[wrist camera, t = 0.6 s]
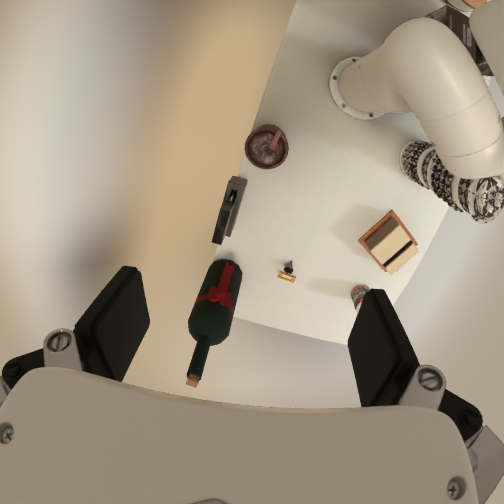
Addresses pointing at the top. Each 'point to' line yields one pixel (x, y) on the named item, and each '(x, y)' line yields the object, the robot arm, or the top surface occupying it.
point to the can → (266, 147)
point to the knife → (224, 219)
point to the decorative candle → (453, 183)
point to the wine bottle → (213, 313)
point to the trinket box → (467, 4)
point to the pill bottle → (359, 295)
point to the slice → (400, 257)
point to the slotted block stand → (386, 238)
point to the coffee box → (456, 26)
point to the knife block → (239, 186)
